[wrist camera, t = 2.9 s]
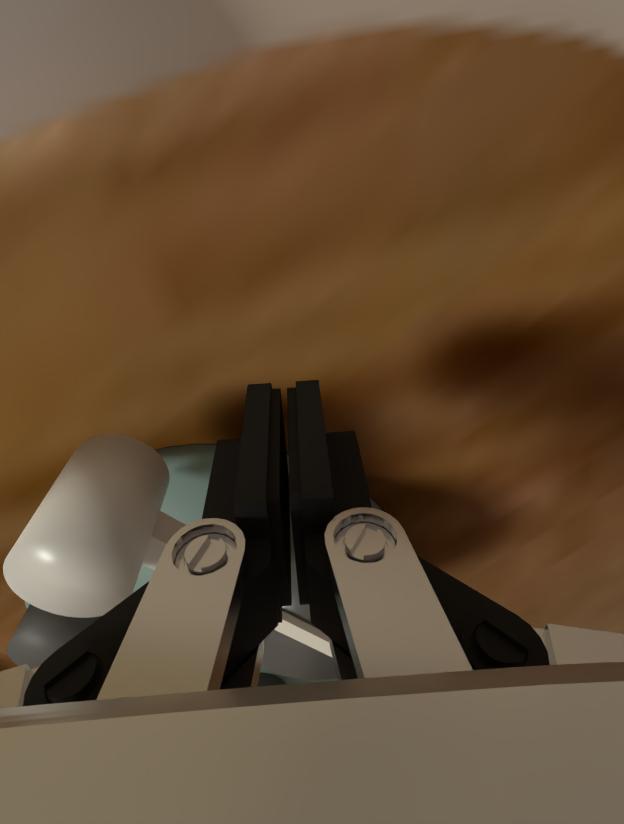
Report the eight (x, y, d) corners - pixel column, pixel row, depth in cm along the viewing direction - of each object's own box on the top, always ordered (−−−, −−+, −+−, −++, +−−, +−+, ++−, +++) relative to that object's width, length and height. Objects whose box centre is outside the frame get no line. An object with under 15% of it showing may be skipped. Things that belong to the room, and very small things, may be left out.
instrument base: (480, 572, 23) (506, 639, 20) (256, 710, 30) (251, 774, 27) (175, 359, 16) (149, 414, 13) (-26, 601, 23) (-71, 672, 20)
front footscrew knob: (411, 541, 19) (450, 684, 15) (320, 604, 22) (327, 747, 17) (142, 359, 14) (65, 484, 10) (59, 464, 17) (-38, 610, 12)
